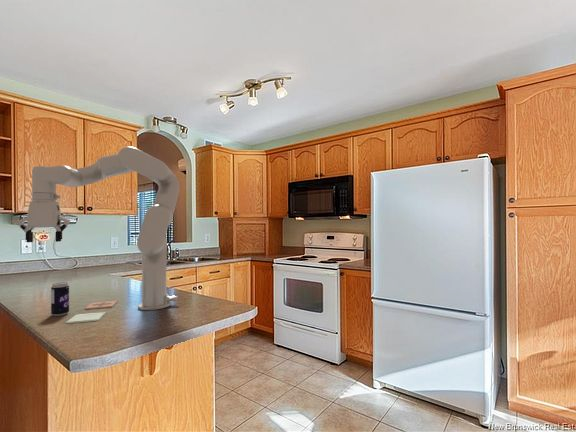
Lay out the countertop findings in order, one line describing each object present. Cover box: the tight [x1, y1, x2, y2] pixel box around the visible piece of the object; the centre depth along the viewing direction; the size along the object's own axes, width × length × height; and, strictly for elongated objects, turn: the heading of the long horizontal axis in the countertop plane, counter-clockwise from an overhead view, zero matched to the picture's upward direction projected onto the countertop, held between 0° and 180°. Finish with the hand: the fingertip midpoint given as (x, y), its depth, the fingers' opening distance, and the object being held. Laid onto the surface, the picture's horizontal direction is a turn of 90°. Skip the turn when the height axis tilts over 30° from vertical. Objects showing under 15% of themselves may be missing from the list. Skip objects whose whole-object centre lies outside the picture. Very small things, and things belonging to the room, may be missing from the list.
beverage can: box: [50, 281, 70, 317], centre depth 125 cm, size 6×6×12 cm
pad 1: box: [65, 311, 107, 324], centre depth 119 cm, size 10×10×1 cm
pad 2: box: [84, 300, 119, 310], centre depth 138 cm, size 10×10×1 cm
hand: (44, 241), depth 126 cm, fingers open, 9 cm apart
